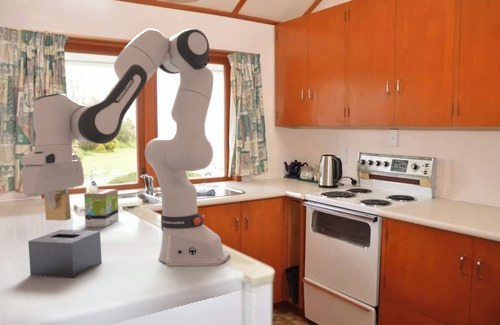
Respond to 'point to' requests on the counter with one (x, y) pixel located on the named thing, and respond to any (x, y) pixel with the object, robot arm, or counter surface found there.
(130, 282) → the counter surface
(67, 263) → the money box
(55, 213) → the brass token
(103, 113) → the robot arm
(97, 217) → the tea box
